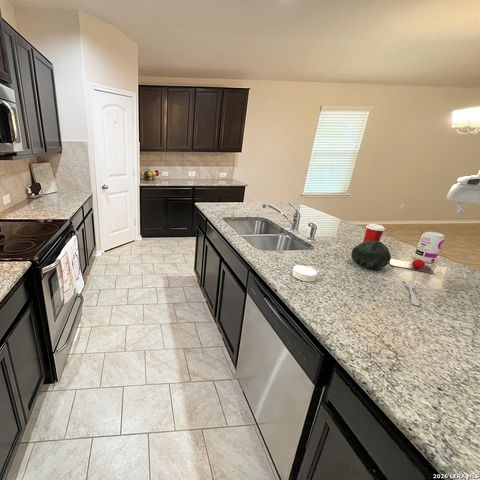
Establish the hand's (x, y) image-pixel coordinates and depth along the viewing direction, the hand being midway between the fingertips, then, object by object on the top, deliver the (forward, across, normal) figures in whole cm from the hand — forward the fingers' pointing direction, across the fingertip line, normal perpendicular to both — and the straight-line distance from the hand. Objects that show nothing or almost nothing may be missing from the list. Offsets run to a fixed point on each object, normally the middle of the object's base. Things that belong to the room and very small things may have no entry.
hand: (475, 215), depth 103 cm
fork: (+31, +15, +22) cm, 41 cm away
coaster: (+31, +54, +32) cm, 70 cm away
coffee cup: (+31, +26, -24) cm, 47 cm away
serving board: (+31, +10, -11) cm, 34 cm away
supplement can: (+31, +2, -25) cm, 40 cm away
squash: (+31, +28, +1) cm, 42 cm away
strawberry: (+28, +7, -10) cm, 31 cm away
